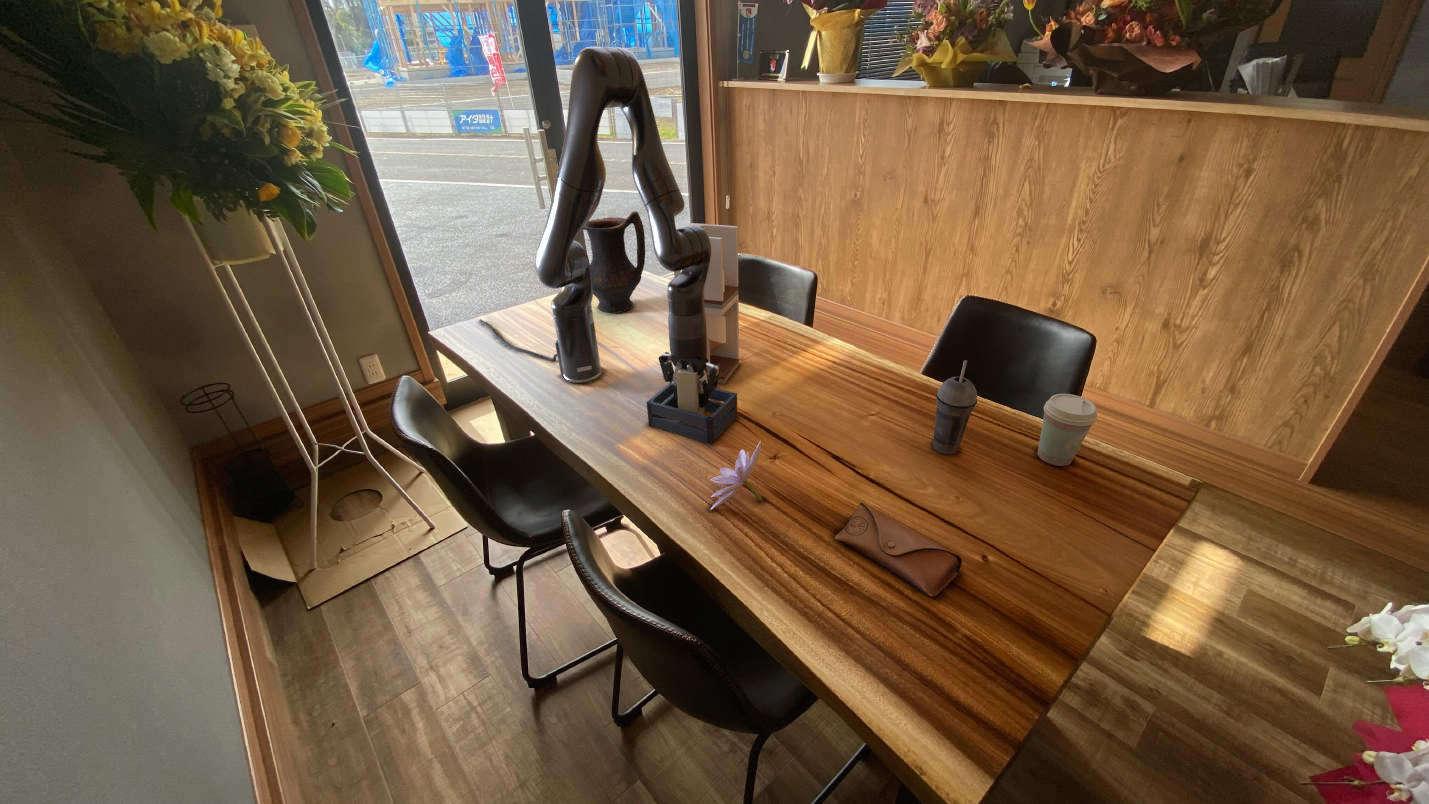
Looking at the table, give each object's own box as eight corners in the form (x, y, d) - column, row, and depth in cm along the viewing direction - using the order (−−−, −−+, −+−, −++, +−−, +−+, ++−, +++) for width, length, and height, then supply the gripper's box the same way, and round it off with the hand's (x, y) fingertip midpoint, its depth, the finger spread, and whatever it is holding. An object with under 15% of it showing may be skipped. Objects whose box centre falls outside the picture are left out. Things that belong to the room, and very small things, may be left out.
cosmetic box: (698, 425, 121) (696, 375, 114) (678, 423, 122) (675, 373, 115) (705, 409, 126) (703, 360, 120) (685, 407, 127) (683, 358, 121)
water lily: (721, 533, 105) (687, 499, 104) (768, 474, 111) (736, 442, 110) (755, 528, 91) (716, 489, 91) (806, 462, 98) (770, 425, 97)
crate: (648, 425, 123) (646, 402, 120) (677, 400, 132) (675, 378, 129) (711, 444, 117) (710, 419, 114) (737, 416, 125) (737, 393, 122)
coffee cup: (1060, 476, 105) (1080, 421, 99) (1019, 452, 111) (1036, 399, 105) (1089, 462, 108) (1110, 408, 102) (1048, 439, 115) (1066, 387, 109)
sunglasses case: (830, 538, 92) (845, 501, 92) (849, 535, 98) (863, 499, 97) (935, 600, 82) (954, 559, 81) (950, 593, 87) (967, 554, 86)
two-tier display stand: (681, 376, 142) (671, 235, 124) (698, 358, 150) (691, 223, 132) (724, 383, 138) (720, 239, 120) (739, 364, 146) (737, 226, 128)
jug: (576, 318, 176) (560, 219, 160) (596, 296, 191) (583, 204, 176) (642, 321, 172) (632, 219, 157) (658, 298, 188) (650, 204, 172)
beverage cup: (964, 440, 115) (986, 351, 105) (965, 461, 110) (988, 369, 99) (926, 434, 117) (944, 346, 107) (925, 454, 112) (943, 364, 101)
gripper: (728, 330, 113) (729, 402, 122) (667, 317, 119) (672, 387, 128) (709, 344, 107) (711, 420, 116) (647, 330, 113) (653, 403, 122)
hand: (691, 402), depth 122 cm, fingers closed on cosmetic box, 5 cm apart
